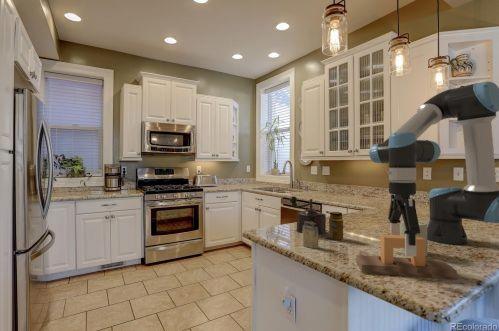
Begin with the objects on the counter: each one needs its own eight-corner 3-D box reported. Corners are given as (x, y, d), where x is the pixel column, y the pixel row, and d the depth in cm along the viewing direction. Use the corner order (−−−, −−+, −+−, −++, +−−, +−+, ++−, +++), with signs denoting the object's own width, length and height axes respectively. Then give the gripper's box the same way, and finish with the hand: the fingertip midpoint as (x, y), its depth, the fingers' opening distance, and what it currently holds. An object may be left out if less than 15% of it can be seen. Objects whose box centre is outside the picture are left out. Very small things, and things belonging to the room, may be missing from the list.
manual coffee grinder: (310, 228, 142) (310, 194, 142) (326, 232, 133) (326, 196, 133) (287, 232, 134) (287, 196, 134) (303, 237, 124) (302, 198, 124)
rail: (441, 267, 87) (441, 259, 87) (456, 279, 78) (456, 270, 78) (356, 262, 92) (356, 254, 92) (361, 272, 84) (361, 264, 84)
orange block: (419, 268, 86) (419, 236, 86) (425, 273, 82) (425, 239, 82) (380, 266, 89) (380, 234, 88) (384, 271, 85) (384, 237, 85)
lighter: (320, 247, 109) (320, 222, 109) (314, 249, 107) (314, 224, 107) (305, 243, 114) (305, 220, 114) (300, 245, 112) (300, 221, 112)
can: (428, 258, 96) (428, 224, 96) (398, 254, 101) (398, 222, 101) (427, 251, 104) (427, 220, 104) (399, 247, 108) (399, 217, 108)
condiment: (347, 239, 120) (347, 212, 120) (334, 242, 116) (334, 214, 116) (334, 236, 126) (334, 210, 126) (321, 239, 122) (321, 212, 122)
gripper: (378, 179, 98) (378, 237, 98) (403, 184, 74) (403, 261, 74) (401, 179, 97) (401, 238, 97) (434, 184, 72) (434, 263, 72)
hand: (402, 248), depth 85 cm, fingers open, 13 cm apart
